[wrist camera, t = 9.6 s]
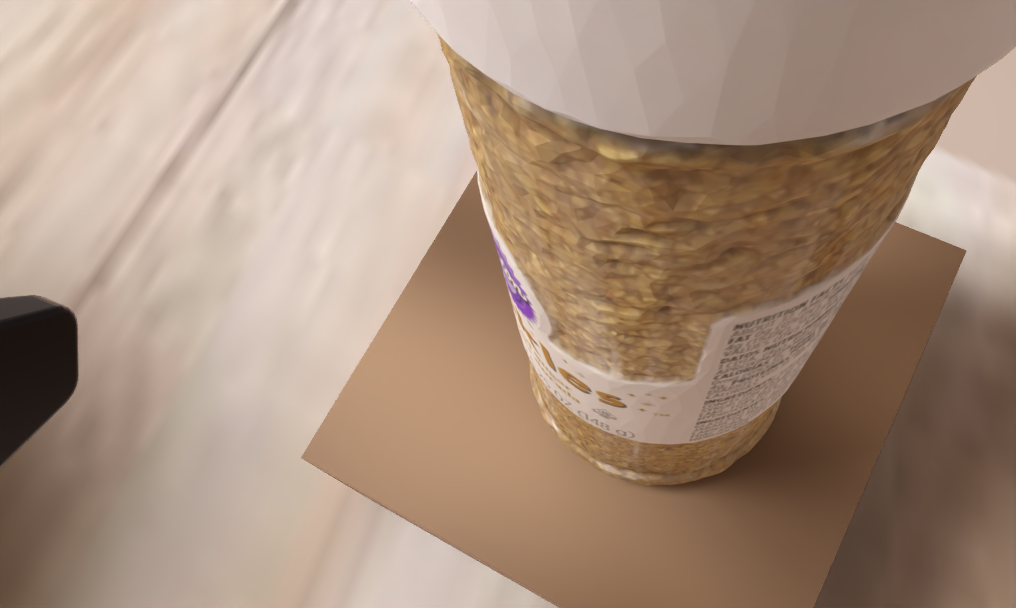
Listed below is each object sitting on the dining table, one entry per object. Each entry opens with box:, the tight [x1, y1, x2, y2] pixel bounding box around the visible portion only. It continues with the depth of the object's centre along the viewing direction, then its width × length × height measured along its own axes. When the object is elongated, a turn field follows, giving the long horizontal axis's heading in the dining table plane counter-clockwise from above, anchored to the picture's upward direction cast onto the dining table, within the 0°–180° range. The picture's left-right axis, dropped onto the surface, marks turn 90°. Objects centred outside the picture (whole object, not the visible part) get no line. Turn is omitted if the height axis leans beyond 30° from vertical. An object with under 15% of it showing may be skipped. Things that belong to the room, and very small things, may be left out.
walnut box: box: [301, 171, 966, 608], centre depth 19 cm, size 9×9×4 cm
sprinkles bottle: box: [409, 0, 1016, 485], centre depth 10 cm, size 5×5×14 cm
